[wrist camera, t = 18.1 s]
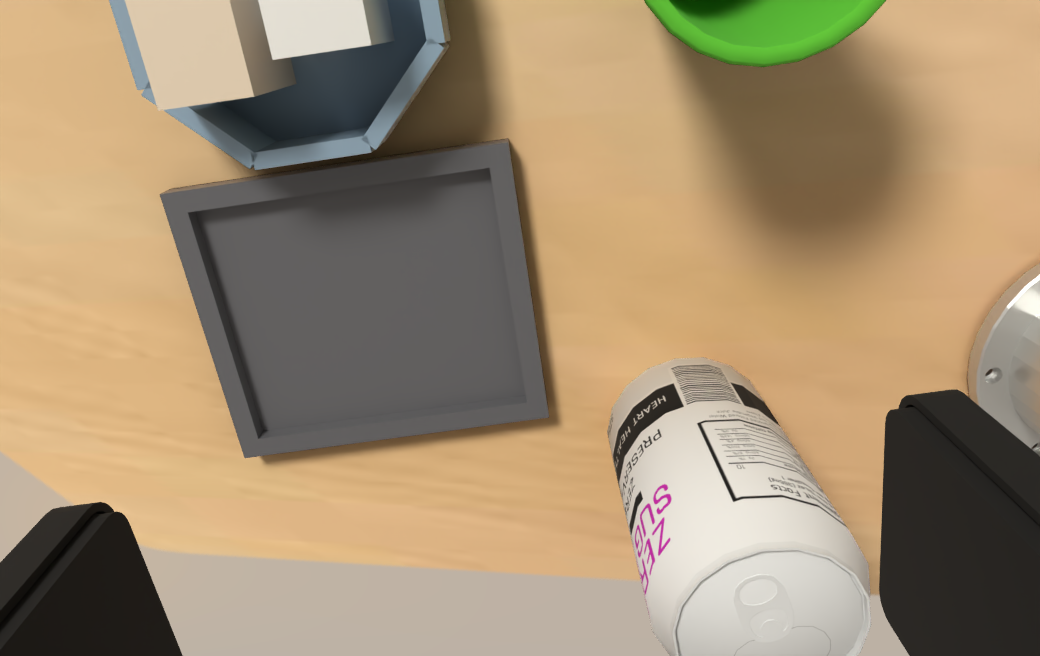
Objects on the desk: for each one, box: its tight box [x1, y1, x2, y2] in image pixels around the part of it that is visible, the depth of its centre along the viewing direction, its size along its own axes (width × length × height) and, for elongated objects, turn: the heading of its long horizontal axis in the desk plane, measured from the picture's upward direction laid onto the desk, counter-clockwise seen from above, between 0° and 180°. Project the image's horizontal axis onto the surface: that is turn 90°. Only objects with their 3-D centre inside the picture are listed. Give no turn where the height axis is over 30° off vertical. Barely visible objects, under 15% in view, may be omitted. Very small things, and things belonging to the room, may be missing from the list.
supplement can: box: [607, 357, 871, 656], centre depth 34 cm, size 8×8×15 cm
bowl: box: [109, 0, 451, 170], centre depth 31 cm, size 12×12×4 cm
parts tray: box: [160, 138, 549, 458], centre depth 38 cm, size 16×14×1 cm
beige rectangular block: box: [125, 0, 297, 111], centre depth 30 cm, size 4×4×6 cm
